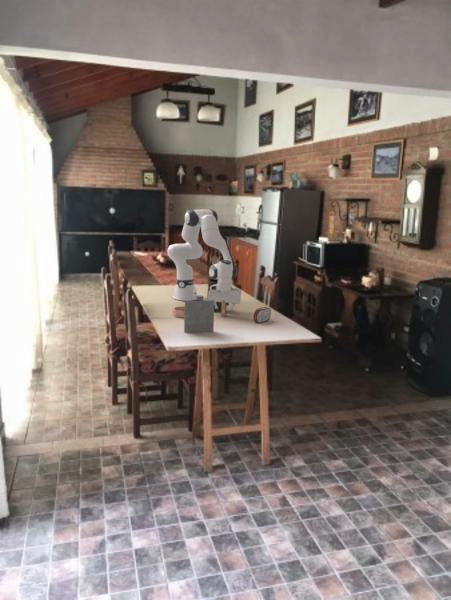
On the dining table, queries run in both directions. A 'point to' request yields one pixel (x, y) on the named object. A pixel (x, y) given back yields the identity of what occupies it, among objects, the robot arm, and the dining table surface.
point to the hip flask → (199, 315)
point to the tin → (262, 314)
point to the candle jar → (178, 311)
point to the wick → (223, 309)
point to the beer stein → (210, 283)
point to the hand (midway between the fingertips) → (223, 309)
